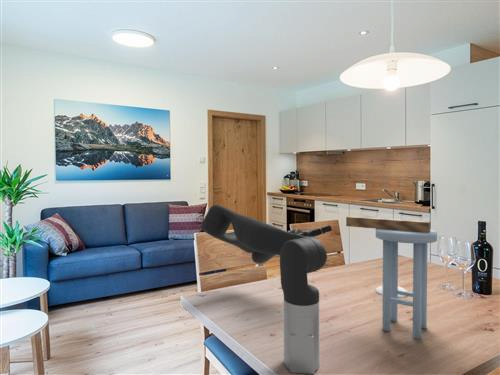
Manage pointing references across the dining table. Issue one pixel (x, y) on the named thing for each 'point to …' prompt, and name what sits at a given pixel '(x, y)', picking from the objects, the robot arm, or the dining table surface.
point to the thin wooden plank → (389, 224)
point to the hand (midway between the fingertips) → (326, 229)
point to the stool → (391, 276)
